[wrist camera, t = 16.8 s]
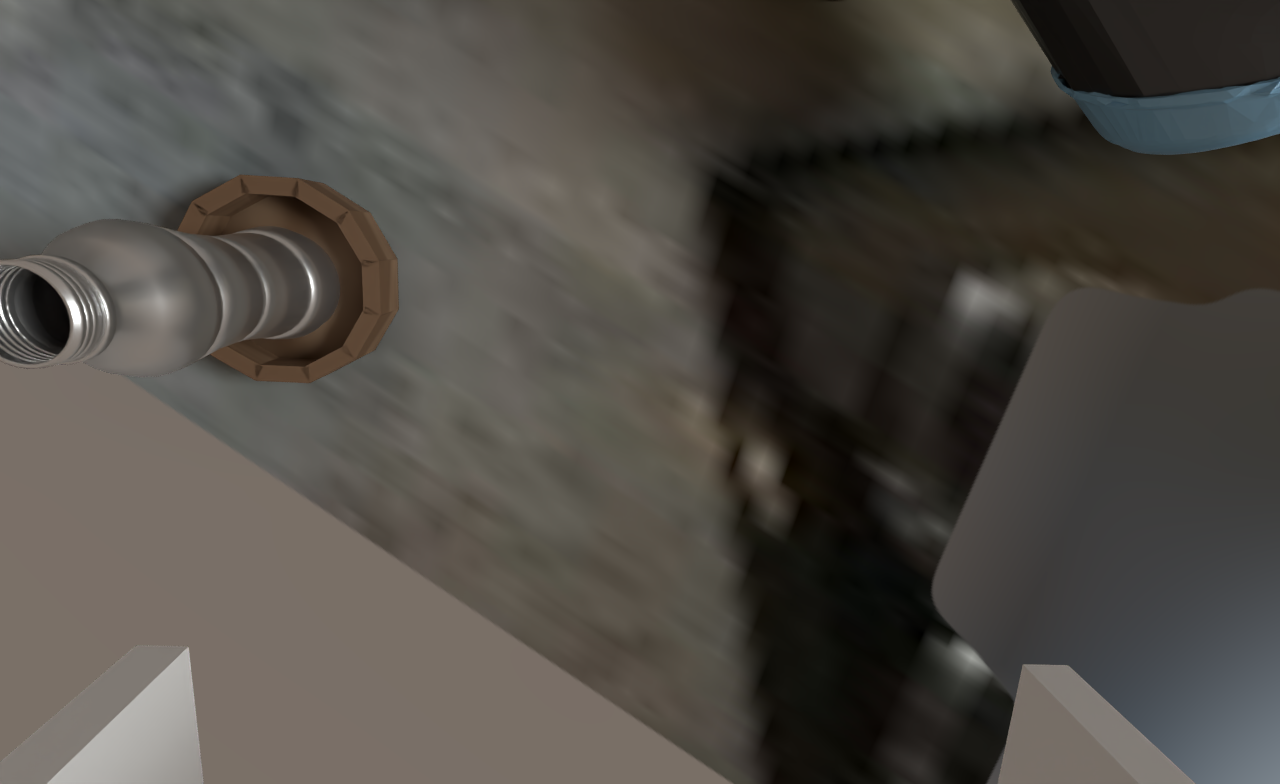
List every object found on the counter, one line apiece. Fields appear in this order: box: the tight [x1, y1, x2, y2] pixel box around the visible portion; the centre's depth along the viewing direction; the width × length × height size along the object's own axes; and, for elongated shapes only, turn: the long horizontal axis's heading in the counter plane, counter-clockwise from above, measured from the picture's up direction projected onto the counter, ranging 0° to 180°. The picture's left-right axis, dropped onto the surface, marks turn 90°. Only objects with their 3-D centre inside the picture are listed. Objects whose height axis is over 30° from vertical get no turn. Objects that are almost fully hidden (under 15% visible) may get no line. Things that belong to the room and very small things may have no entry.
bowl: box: [177, 175, 399, 383], centre depth 40 cm, size 12×12×4 cm
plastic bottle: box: [0, 219, 340, 377], centre depth 31 cm, size 6×7×20 cm
